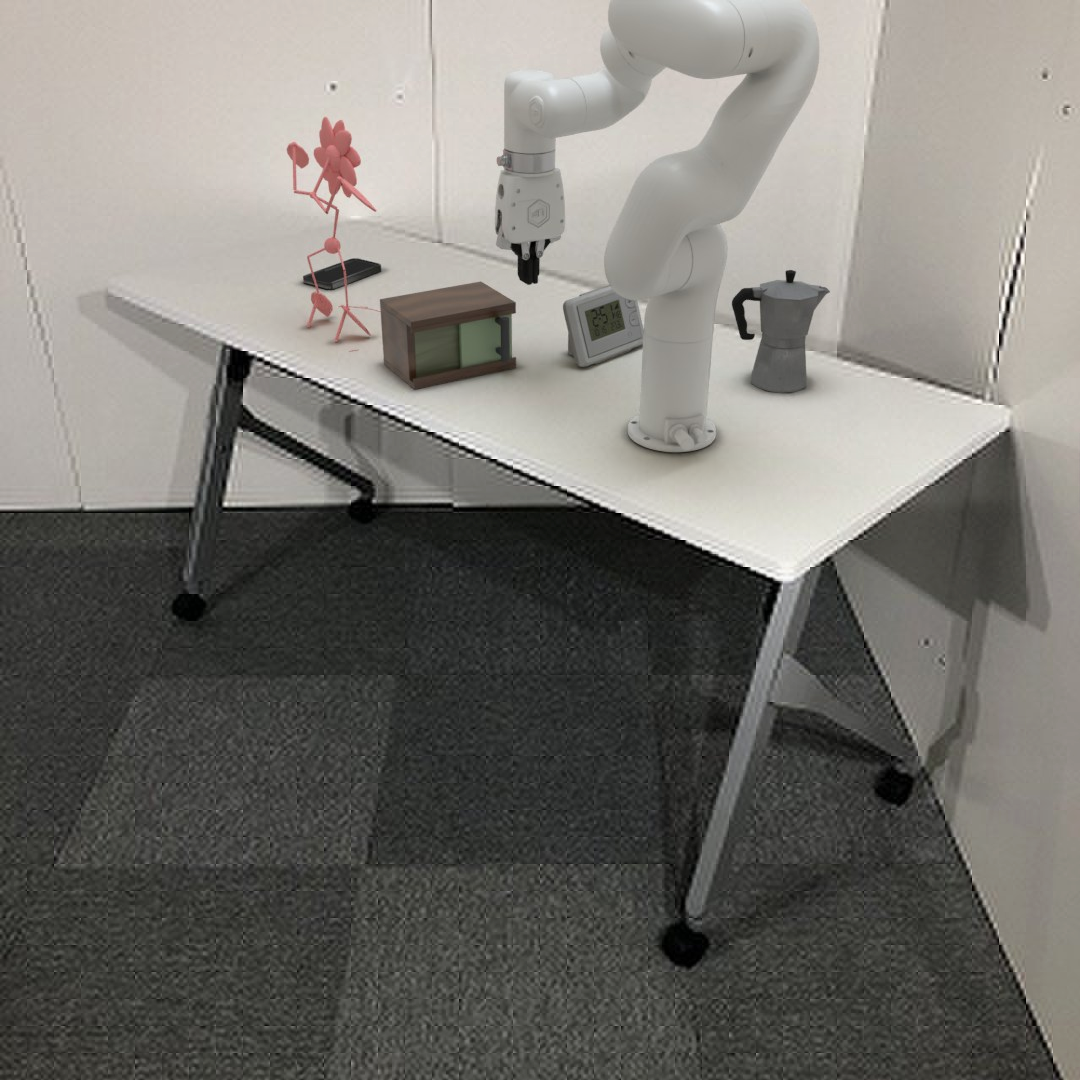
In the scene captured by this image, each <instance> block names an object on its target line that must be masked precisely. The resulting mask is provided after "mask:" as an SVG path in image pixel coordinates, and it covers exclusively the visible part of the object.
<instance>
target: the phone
mask: <svg viewBox="0 0 1080 1080" xmlns="http://www.w3.org/2000/svg"><path fill="white" fill-rule="evenodd" d="M343 263H344V266H345V271H346V280H347V285H349V284H350V283H353V282H356V281H358V280H361V279H364V278H366V277H370V276H372V275H374V274H377V273H380V272H382V264H381V263H378V262H374V261H369V260H367V259H363V258H358V257H353V258H349V259H346V260H343ZM313 273H314V276H315V279H316V283H317V286H318V288H321V289H324V290H334V289H335V290H336V289H338V288H340V287H344V286H345V283H344V270H343V267H342V263H341V261H340V262H338V263H335V264H332V265H330V266H327V267H324V268H321V269H318V270H315V271H313ZM302 281H303V284H306V285H310V286H312V287H313V286H314V287H315V283H314V280H313V277H312V273H311V272H310V273H307V274H304V275H303V276H302Z"/></svg>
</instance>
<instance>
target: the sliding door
mask: <svg viewBox="0 0 1080 1080" xmlns="http://www.w3.org/2000/svg"><path fill="white" fill-rule="evenodd" d="M512 315H513V314H509V315H504V316H499V317H494V318H488V319H483V320H478V321H473V322H468V323H462V324H459V346H460V368H465V367H470V366H475V365H479V364H484V363H489V362H494V361H498V360H501V361H502V362H509V361H510V358H513V321H512V320H513V316H512Z"/></svg>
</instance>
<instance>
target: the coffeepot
mask: <svg viewBox="0 0 1080 1080" xmlns="http://www.w3.org/2000/svg"><path fill="white" fill-rule="evenodd" d="M796 273H797V271H796V270H793V269H788V270H785V279H776V280H772V281H767V282H763V283H760V284H759V286H753V287H744V288H741V289H740V290H739V291H738V292H737V294H735V296H734V297H733V298H732V299H731V308H732V311H733V315H734V319H735V322H736V326H737V330H738V333H739V337H740V339H741V340H743V341H751V340H754V338H755V337H756V334H755V333H749V332H748V322H747V319H746V314H745V313H746V311H745V307H744V302H746V301H753V302H759V316H760V333H761V338H760V340H759V341H760V342H759V345H758V348H757V353H756V356H755V360H754V364H753V367H752V368H753V369H752V370H751V377H750V383H751V384H752V385H753V386H754V387H756V388H758V389H760V390H763V391H767V392H771V393H772V392H773V393H779V394H780V393H781V394H782V393H785V394H788V393H794V392H798V391H800V390H803V389H805V388H807V359H806V358H807V355H806V337H807V336H808V335H809V331H810V327H811V324H812V320H813V316H814V312H815V310H816V309H817V307H818V306H819V305H820V303H821V302H822V301H823V299H824V298H825V297H826V295H827V294H830V293H831V290H830V289H828V288H827V287H826V286H822V285H815V284H810V283H806V282H804V281H802V280H801V281H800V280H795V277H796Z"/></svg>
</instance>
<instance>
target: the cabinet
mask: <svg viewBox="0 0 1080 1080" xmlns="http://www.w3.org/2000/svg"><path fill="white" fill-rule="evenodd" d="M379 308H380V309H379V311H381V312H380V324H381V335H382V336H381V339H382V354H383V355H382V356H383V365H384V366H385V367H386V368H387V369H389V370H390V371H391V372H392V373H394V374H395V375H396V376H397V377H399V378H400V379H401V380H403V382H404V383H406V384H407V385H409V387H411V388H412V389H413V390H419V389H424V388H428V387H433V386H438V385H443V384H447V383H451V382H455V381H456V382H457V381H462V380H467V379H470V378H476V377H480V376H484V375H489V374H493V373H498V372H502V371H503V372H504V371H508V370H512V369H516V368H517V356H512V358H510V361H509V362H502V361H501V360H498V361H494V362H489V363H484V364H479V365H475V366H470V367H465V368H460V346H459V324H462V323H468V322H473V321H478V320H483V319H488V318H494V317H499V316H504V315H509V314H512V315H514V314H516V313H517V302H516V301H514V300H512V299H511V298H509V297H508V296H506V295H504V294H503V293H501V292H499V291H497V290H496V289H495V288H493V287H491V286H490V285H488V284H486V283H484V282H483V281H476V282H470V283H469V282H468V283H464V284H457V285H453V286H447V287H441V288H436V289H429V290H423V291H419V292H418V291H417V292H412V293H408V294H402V295H396V296H391V297H390V296H389V297H385V298H379Z"/></svg>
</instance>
